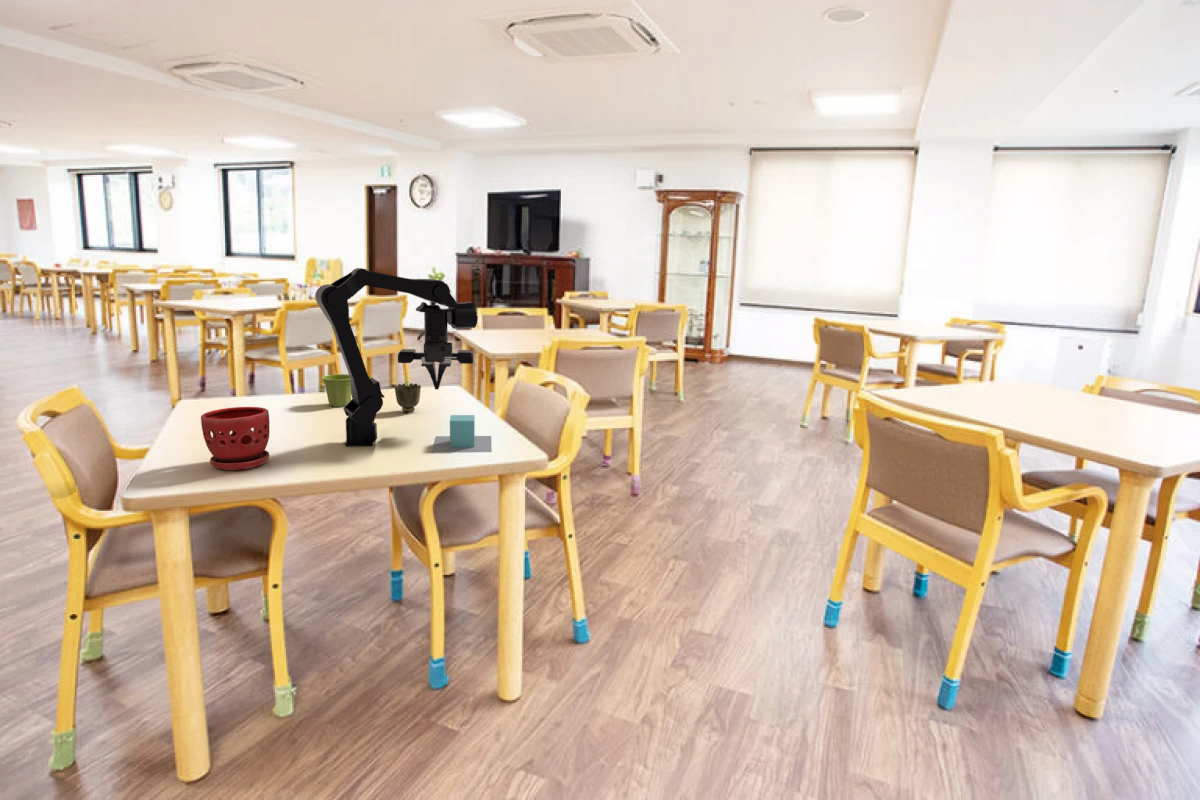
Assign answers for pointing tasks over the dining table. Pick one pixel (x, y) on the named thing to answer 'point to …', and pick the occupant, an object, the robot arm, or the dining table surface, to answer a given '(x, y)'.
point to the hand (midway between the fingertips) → (436, 389)
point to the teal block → (462, 430)
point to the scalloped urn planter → (407, 396)
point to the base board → (479, 446)
